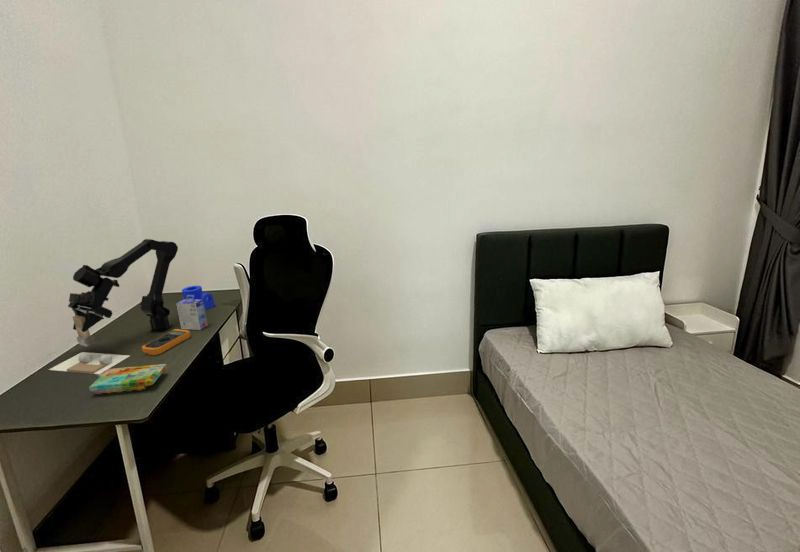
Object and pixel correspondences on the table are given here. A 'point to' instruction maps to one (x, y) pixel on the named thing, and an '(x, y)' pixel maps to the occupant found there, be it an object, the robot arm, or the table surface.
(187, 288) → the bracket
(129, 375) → the puzzle game
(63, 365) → the board
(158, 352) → the multimeter
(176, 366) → the table surface
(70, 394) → the table surface
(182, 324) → the ink cartridge box
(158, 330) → the robot arm
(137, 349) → the table surface
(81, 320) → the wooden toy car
